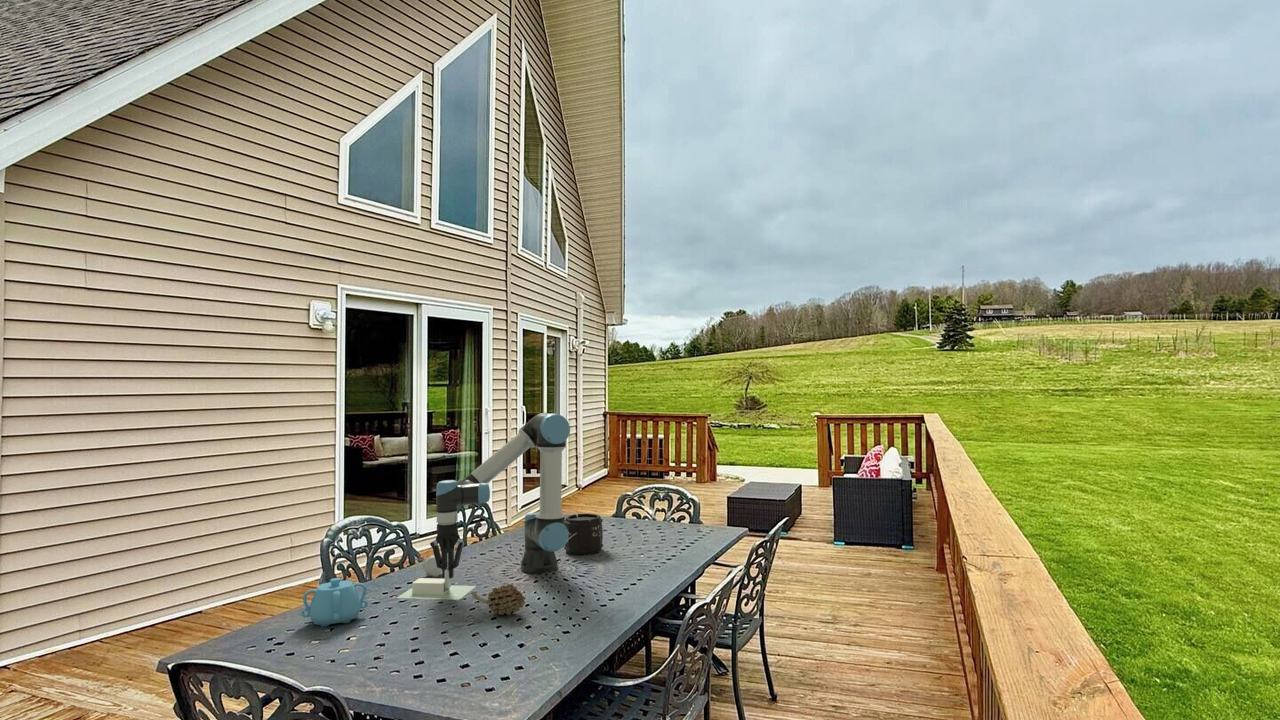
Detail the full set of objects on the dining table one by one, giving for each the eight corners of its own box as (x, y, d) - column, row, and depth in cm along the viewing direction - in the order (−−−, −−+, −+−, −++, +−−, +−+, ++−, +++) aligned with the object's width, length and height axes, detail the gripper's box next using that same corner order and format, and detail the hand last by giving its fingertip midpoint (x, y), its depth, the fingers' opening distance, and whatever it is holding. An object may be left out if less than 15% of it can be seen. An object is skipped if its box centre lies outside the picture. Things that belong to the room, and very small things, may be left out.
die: (450, 575, 270) (444, 553, 275) (442, 570, 263) (437, 548, 268) (430, 583, 269) (425, 561, 274) (422, 578, 262) (417, 556, 267)
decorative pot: (332, 633, 207) (332, 589, 208) (296, 625, 214) (296, 583, 214) (372, 616, 222) (372, 575, 223) (338, 609, 229) (338, 570, 229)
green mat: (476, 586, 252) (476, 586, 252) (459, 600, 236) (459, 599, 236) (416, 585, 256) (416, 584, 256) (396, 598, 240) (396, 598, 240)
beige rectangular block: (449, 578, 249) (419, 578, 250) (443, 583, 243) (412, 582, 244) (449, 589, 249) (419, 588, 250) (443, 594, 243) (412, 593, 244)
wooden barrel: (568, 546, 313) (568, 512, 314) (605, 546, 311) (605, 513, 311) (558, 556, 295) (558, 520, 296) (598, 556, 293) (597, 520, 293)
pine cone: (532, 612, 222) (531, 582, 223) (516, 621, 214) (516, 590, 214) (477, 605, 231) (476, 576, 231) (459, 614, 222) (459, 584, 222)
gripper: (467, 520, 249) (468, 584, 248) (435, 520, 251) (435, 583, 250) (459, 524, 242) (460, 590, 241) (426, 524, 243) (426, 589, 243)
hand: (448, 586), depth 245 cm, fingers closed
